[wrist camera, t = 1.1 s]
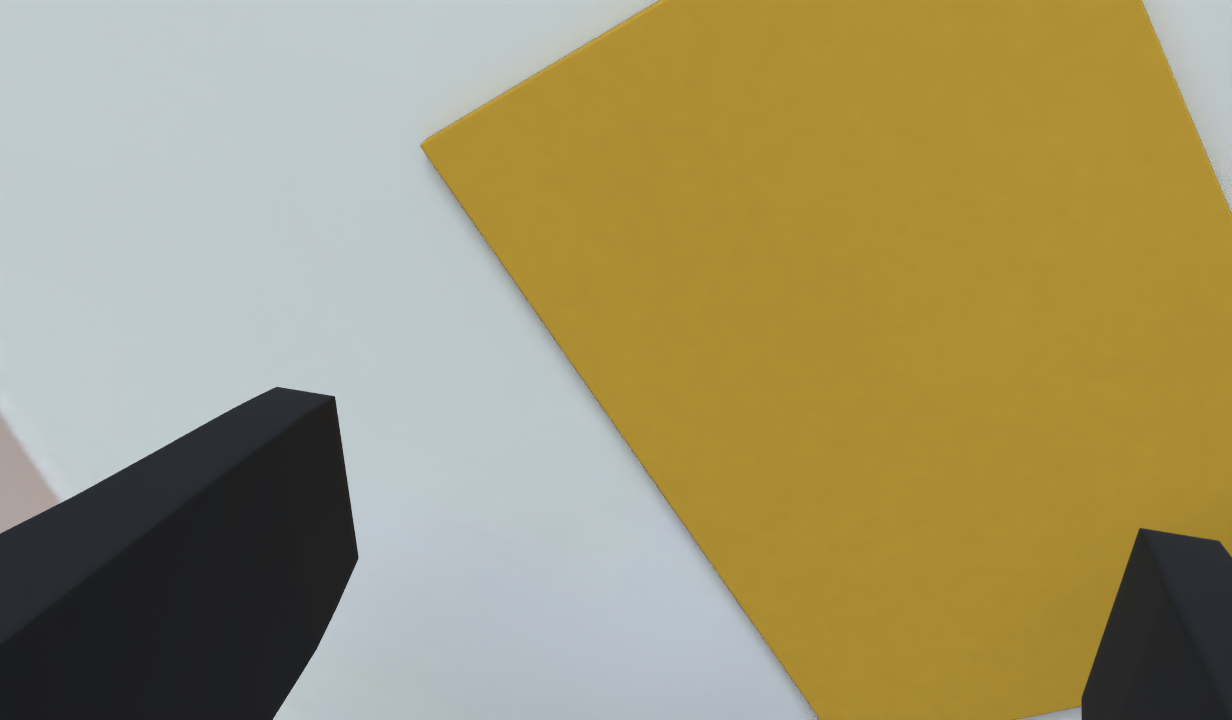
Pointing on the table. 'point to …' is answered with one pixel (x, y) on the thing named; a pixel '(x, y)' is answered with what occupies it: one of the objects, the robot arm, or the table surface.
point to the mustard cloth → (886, 317)
